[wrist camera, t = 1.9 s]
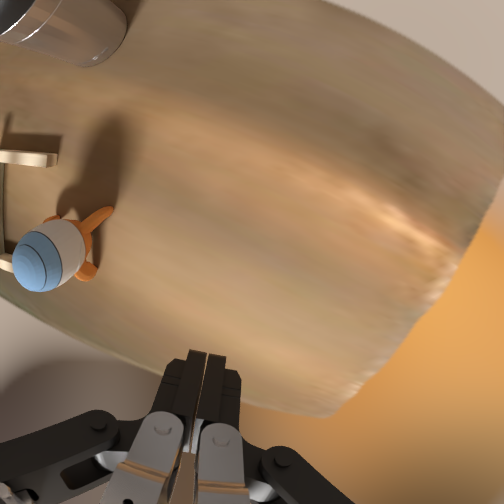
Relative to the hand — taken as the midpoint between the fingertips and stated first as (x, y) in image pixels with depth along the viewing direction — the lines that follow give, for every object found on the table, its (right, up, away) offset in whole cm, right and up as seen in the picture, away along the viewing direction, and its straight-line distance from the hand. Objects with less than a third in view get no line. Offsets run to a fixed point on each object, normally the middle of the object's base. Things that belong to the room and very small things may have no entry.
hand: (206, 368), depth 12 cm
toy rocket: (-19, +8, +24) cm, 32 cm away
